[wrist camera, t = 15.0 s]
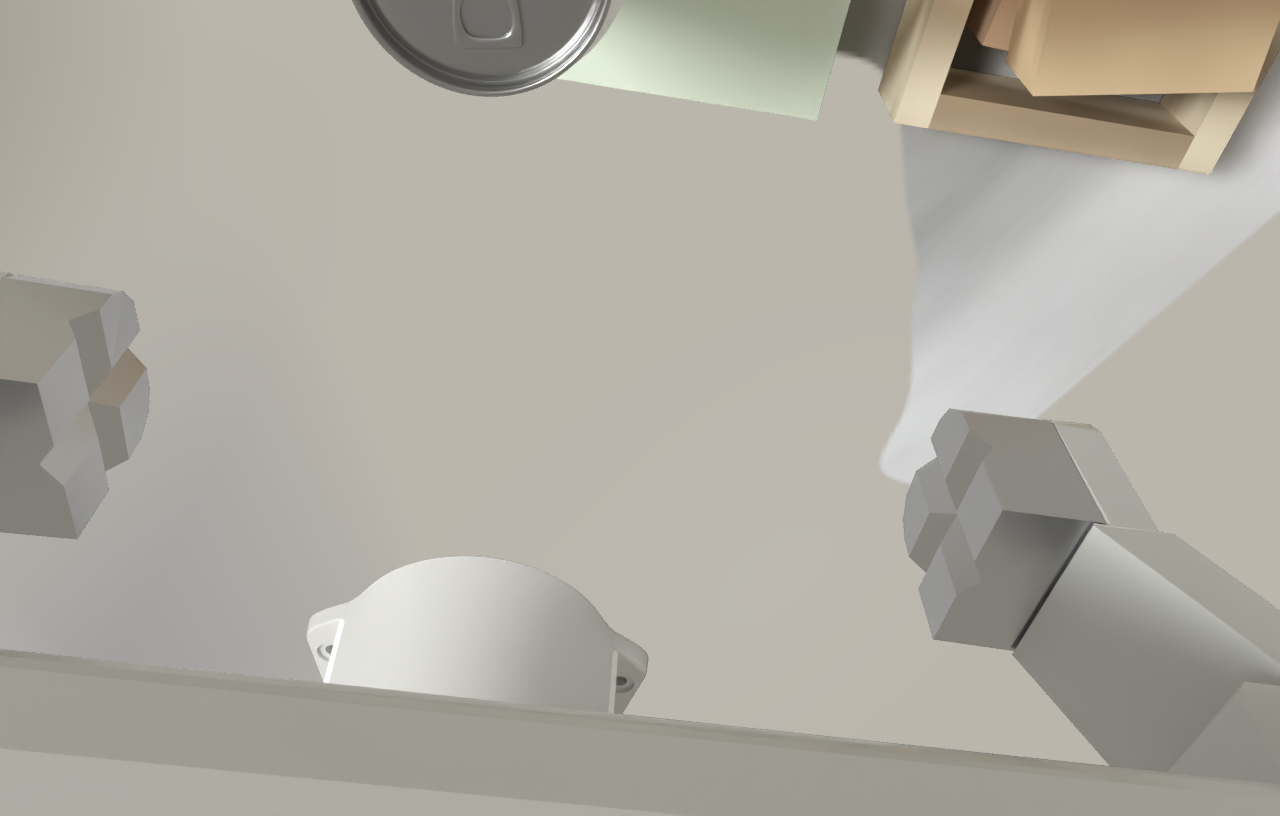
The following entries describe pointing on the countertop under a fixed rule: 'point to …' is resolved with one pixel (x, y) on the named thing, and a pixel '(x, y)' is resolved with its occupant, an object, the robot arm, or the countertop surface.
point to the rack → (1048, 102)
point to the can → (488, 39)
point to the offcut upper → (1140, 45)
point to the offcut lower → (992, 22)
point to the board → (721, 52)
